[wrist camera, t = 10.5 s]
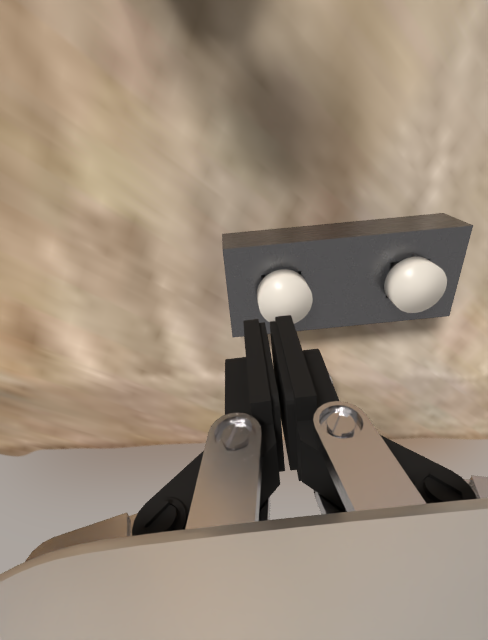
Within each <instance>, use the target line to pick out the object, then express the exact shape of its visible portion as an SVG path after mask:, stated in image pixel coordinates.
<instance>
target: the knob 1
mask: <svg viewBox="0 0 488 640" xmlns="http://www.w3.org/2000/svg"><path fill="white" fill-rule="evenodd" d="M257 300H258V305H259V310H260V312H261V314H262V316H263V317H264V318H265V319H266V320H267V321H268V322H270V321H275V317H278V316H286V315H291V317H292V320H293V323H294V324H295V323H297V322H299V321H300V320H302V319H303V318H304V317H305V316H306V315H307V314H308V312H309V311H310V309H311V306H312V301H313V298H312V293H311V290H310V288H309V287H308V285H307V283H306V281H305V279H304V278H303V277H302V276H301V275H300V274H299V273H297V272H295V271H293V270H288V269H281V270H276V271H274V272H271V273H270V274H267V275H265V277H264V278H263V280H262V281H261V282H260V284H259V286H258V289H257Z"/></svg>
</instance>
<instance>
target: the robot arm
mask: <svg viewBox="0 0 488 640" xmlns="http://www.w3.org/2000/svg"><path fill="white" fill-rule="evenodd" d="M243 324H244V337H245V349H246V357H243V358H234V359H226V360H225V415H224V416H222V417H220V418H219V419H217V420H216V421H215V422H214V423H213V425H212V426H211V428H210V430H209V432H208V436H207V440H206V445H205V449H204V451H203V452H202V453H201V454H200V455H199V456H197V457H196V458H195V459H194V460H193V461H192V462H191V463H190V464H189V465H187V466H186V467H185V468H184V469H183V470H182V471H181V472H180V473H179V474H178V475H177V476H175V477H174V478H173V479H172V480H171V481H170V482H169V483H168V484H167V485H165V486H164V487H163V488H162V489H161V490H160V491H159V492H158V493H157V494H156V495H155V496H153V497H152V498H151V499H150V500H149V501H148V502H147V503H146V504H145V505H144V506H143V507H142V508H141V510H140V511H139V512H138V513H137V514H134V515H131V516H129V515H128V514H127V513H124V514H121V515H118V516H115V517H112V518H110V519H106V520H104V521H101V522H97V523H94V524H92V525H89V526H86V527H83V528H80V529H77V530H74V531H71V532H68V533H65V534H62V535H59V536H56V537H53V538H51V539H49V540H47V541H45V542H43V543H42V544H41V545H39V546H38V547H37V548H36V549H35V550H34V551H32V553H31V554H30V555H29V557H28V558H27V560H26V561H25V562H24V563H22V564H20V565H17V566H15V567H14V568H12V569H10V570H8V571H6V572H4V573H2V574H0V640H488V477H482V476H471V478H470V480H469V479H462V477H460V476H459V475H457V474H456V473H454V472H453V471H451V470H449V469H447V468H445V467H443V466H441V465H439V464H437V463H435V462H433V461H431V460H429V459H427V458H425V457H423V456H421V455H419V454H417V453H415V452H413V451H411V450H409V449H407V448H405V447H403V446H401V445H399V444H397V443H395V442H393V441H391V440H389V439H387V438H385V437H383V436H381V435H380V434H379V433H378V431H377V430H376V428H375V427H374V425H373V424H372V422H371V421H370V420H369V418H368V417H367V415H366V414H365V413H364V412H363V411H362V410H361V409H360V408H358V407H357V406H355V405H353V404H350V403H347V402H341V401H339V399H338V396H337V394H336V391H335V389H334V386H333V384H332V381H331V379H330V376H329V373H328V371H327V368H326V366H325V363H324V361H323V358H322V356H321V353H320V351H319V349H311V350H303V351H302V348H301V345H300V342H299V339H298V336H297V332H296V329H295V326H294V323H293V320H292V317H291V315H286V316H278V317H275V321H270V332H271V344H272V355H273V363H272V358H271V352H270V347H269V341H268V336H267V330H266V325H265V322H262V323H259V319H253V320H244V321H243ZM273 367H274V368H273ZM281 421H282V427H283V432H284V438H285V443H286V449H287V454H288V460H289V465H290V470H297V472H298V478H299V481H302V482H303V483H305V484H306V485H308V486H309V487H311V488H312V489H313V490H314V494H315V498H316V501H317V504H318V506H319V508H320V511H321V514H322V515H314V516H304V517H295V518H286V519H276V520H270V495H271V494H272V493H273V492H274V491H275V490H276V488H277V487H278V486H279V485H280V478H279V472H280V471H285V466H284V453H283V440H282V428H281Z"/></svg>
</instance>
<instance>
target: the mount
mask: <svg viewBox="0 0 488 640" xmlns="http://www.w3.org/2000/svg"><path fill="white" fill-rule="evenodd" d="M472 227H473V225H471V224H468V223H466V222H464V221H461V220H459V219H456V218H454V217H451V216H449V215H447V214H444V213H440V214H430V215H419V216H409V217H398V218H387V219H377V220H366V221H356V222H345V223H335V224H324V225H313V226H303V227H292V228H282V229H271V230H261V231H250V232H240V233H229V234H222V241H223V257H224V265H225V274H226V283H227V292H228V301H229V310H230V318H231V327H232V336H233V337H241V336H244V324H243V321H244V320H253V319H259V323H262V322H265V325H266V330H267V334H271V332H270V322H268V321H267V320H266V319H265V318H264V317H263V316H262V314H261V312H260V310H259V305H258V300H257V289H258V286H259V284H260V282H261V281H262V280H263V278H264V277H265V275H267V274H270V273H271V272H274V271H276V270H281V269H288V270H293V271H295V272H297V273H299V274H300V275H301V276H302V277H303V278H304V279H305V281H306V283H307V285H308V287H309V288H310V290H311V293H312V298H313V301H312V306H311V309H310V311H309V312H308V314H307V315H306V316H305V317H304V318H303V319H302V320H300V321H299V322H297V323H295V324H294V326H295V329H296V331H302V330H312V329H322V328H332V327H342V326H353V325H363V324H373V323H383V322H393V321H403V320H413V319H423V318H434V317H444V316H449V315H450V311H451V307H452V303H453V300H454V296H455V292H456V288H457V284H458V281H459V277H460V273H461V269H462V265H463V262H464V258H465V254H466V250H467V246H468V243H469V239H470V235H471V231H472ZM410 257H423V258H426V259H428V260H429V261H431V262H432V263H434V264H435V265H437V266H438V267H440V268H441V269H442V270H443V271H444V272H445V274H446V277H447V286H446V289H445V292H444V294H443V296H442V297H441V298H440V300H439V301H438V302H437V303H436V304H435V305H433V306H432V307H430V308H429V309H427V310H424V311H422V312H418V313H407V312H404V311H401V310H400V309H399V308H397V307H396V305H395V304H394V303H393V302H392V301H391V300H390V299H389V298H388V297H387V295H386V293H385V290H384V283H385V279H386V277H387V274H388V273H389V271H390V265H391V263H392V262H400V261H402V260H404V259H406V258H410Z"/></svg>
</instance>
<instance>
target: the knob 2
mask: <svg viewBox="0 0 488 640" xmlns="http://www.w3.org/2000/svg"><path fill="white" fill-rule="evenodd" d="M446 286H447V277H446V274H445V272H444V271H443V270H442V269H441V268H440V267H438V266H437V265H435V264H434V263H432V262H431V261H429V260H428V259H426V258H423V257H410V258H406V259H404V260H402V261H400V262H392V263H391V265H390V271H389V273H388V274H387V277H386V279H385V283H384V290H385V293H386V295H387V297H388V298H389V299H390V300H391V301H392V302H393V303H394V304H395V305H396V307H397V308H399V309H400V310H401V311H404V312H407V313H418V312H422V311H424V310H427V309H429V308H430V307H432V306H433V305H435V304H436V303H437V302H438V301H439V300H440V298H441V297H442V296H443V294H444V292H445V289H446Z"/></svg>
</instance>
